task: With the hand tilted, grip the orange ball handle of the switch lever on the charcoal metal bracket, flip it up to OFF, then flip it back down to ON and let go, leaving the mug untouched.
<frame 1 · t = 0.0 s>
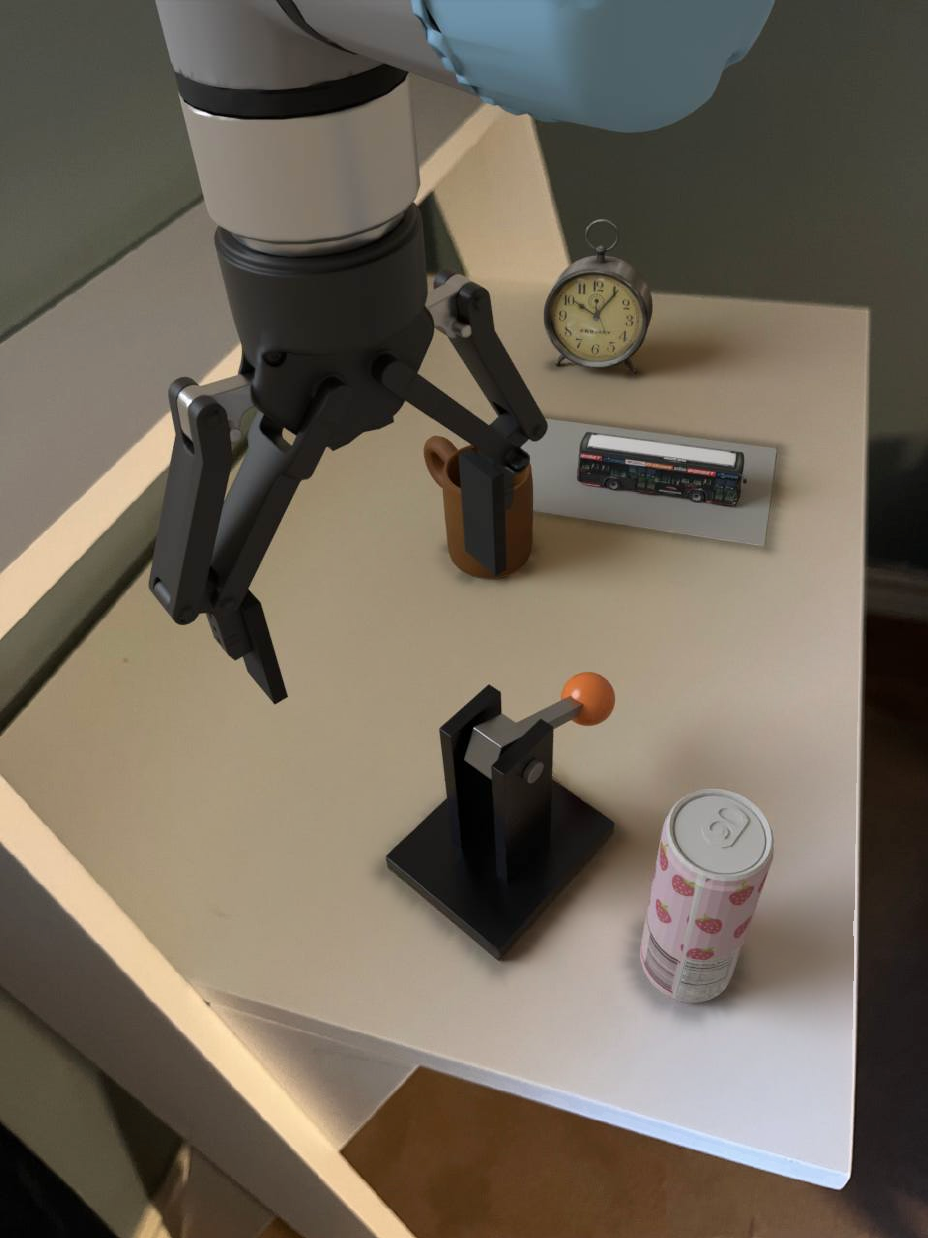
hand: (382, 619, 50), 22 cm above the table, tool pointing down, fingers open, 13 cm apart
switch bracket: (501, 850, 65), on the table
switch lever: (547, 720, 61), point 10 cm above the table, hinge at -25.0°
mug: (474, 542, 87), on the table
beverage can: (685, 960, 60), on the table
alarm clock: (596, 366, 106), on the table
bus: (636, 477, 93), on the table
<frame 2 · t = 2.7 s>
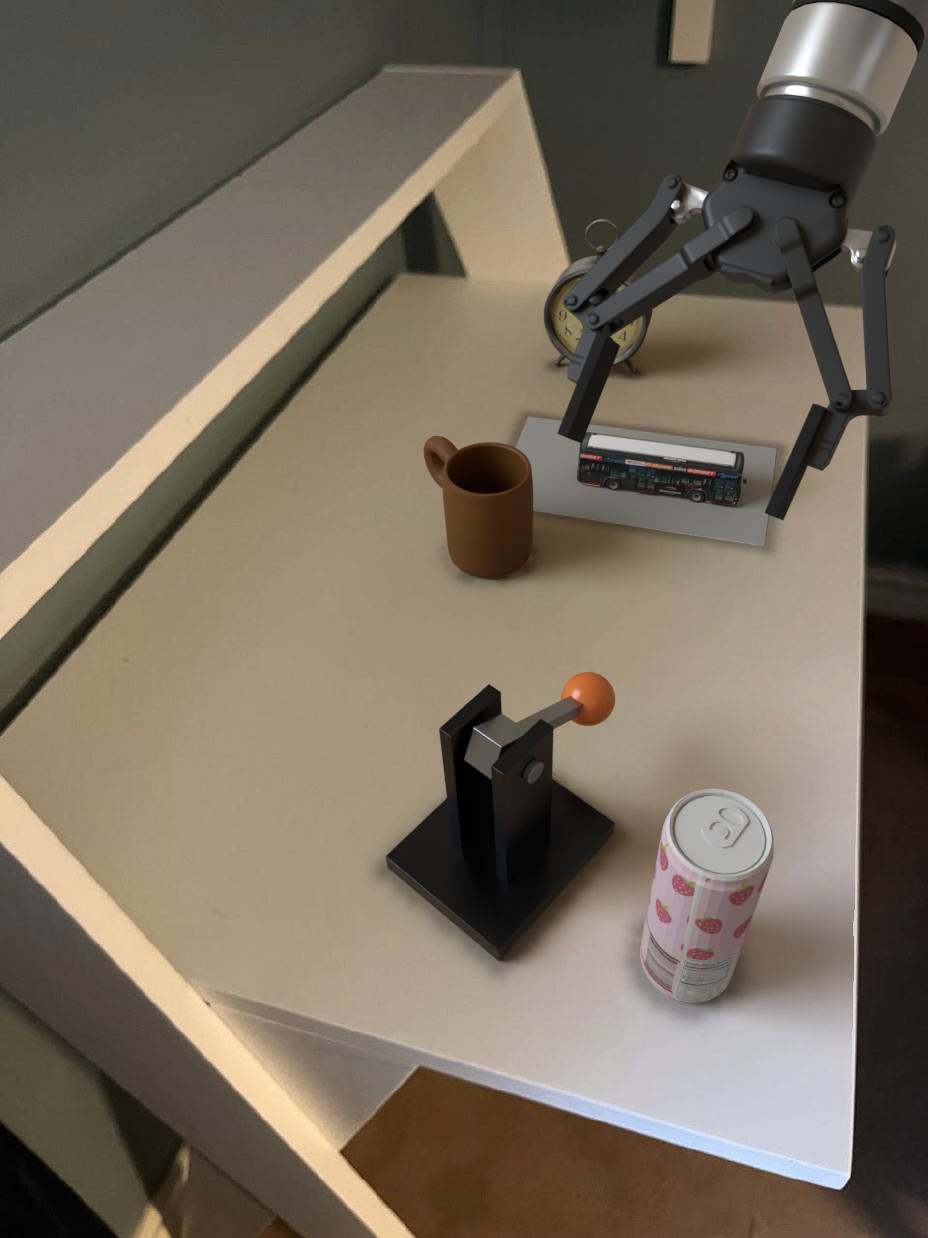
hand: (666, 476, 58), 21 cm above the table, tool tilted 40°, fingers open, 13 cm apart
nothing on the table moved.
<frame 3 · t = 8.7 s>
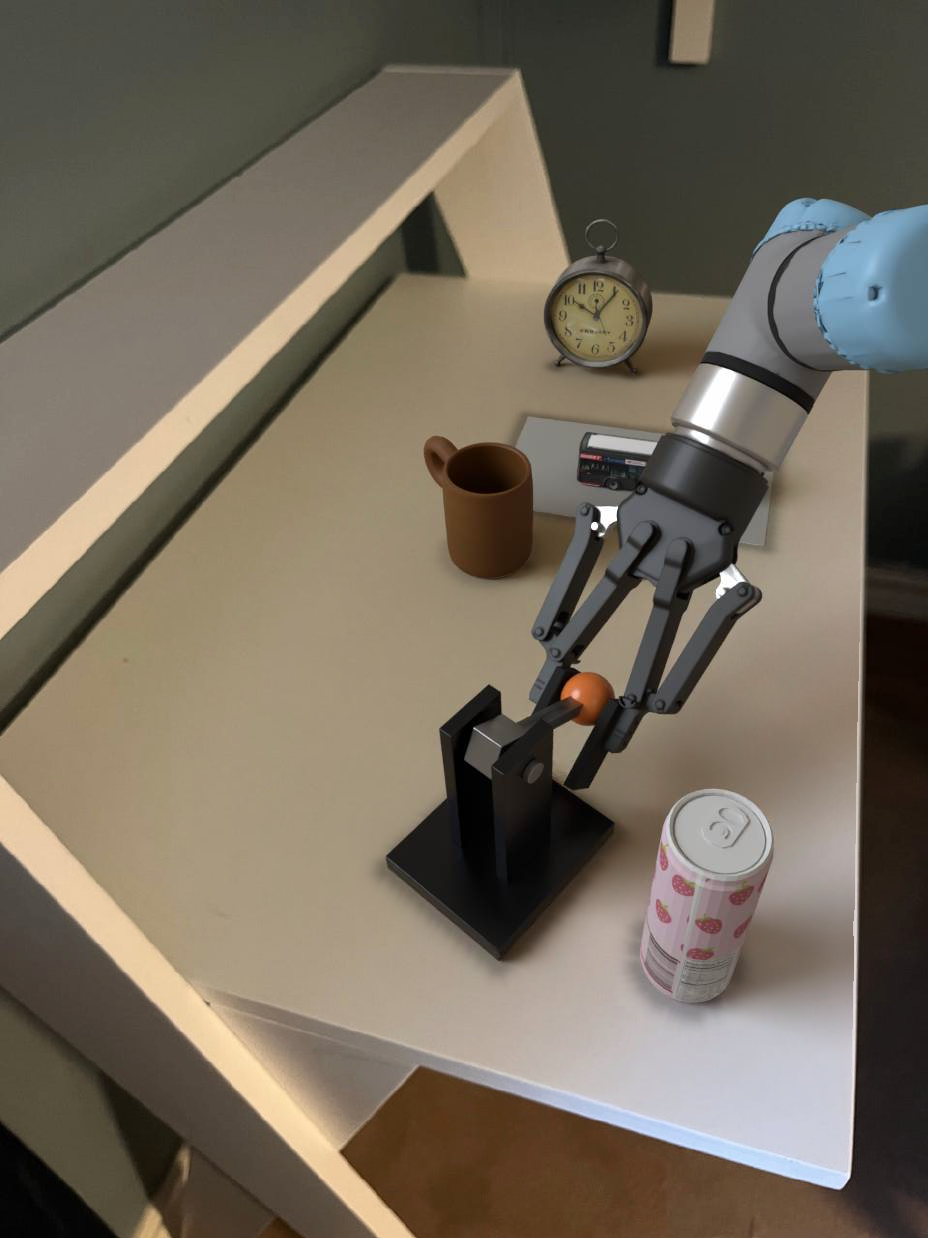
hand: (551, 768, 65), 4 cm above the table, tool tilted 45°, fingers closed on switch lever, 4 cm apart
switch lever: (547, 720, 61), point 10 cm above the table, hinge at -25.0°, touching gripper
everything else where it was.
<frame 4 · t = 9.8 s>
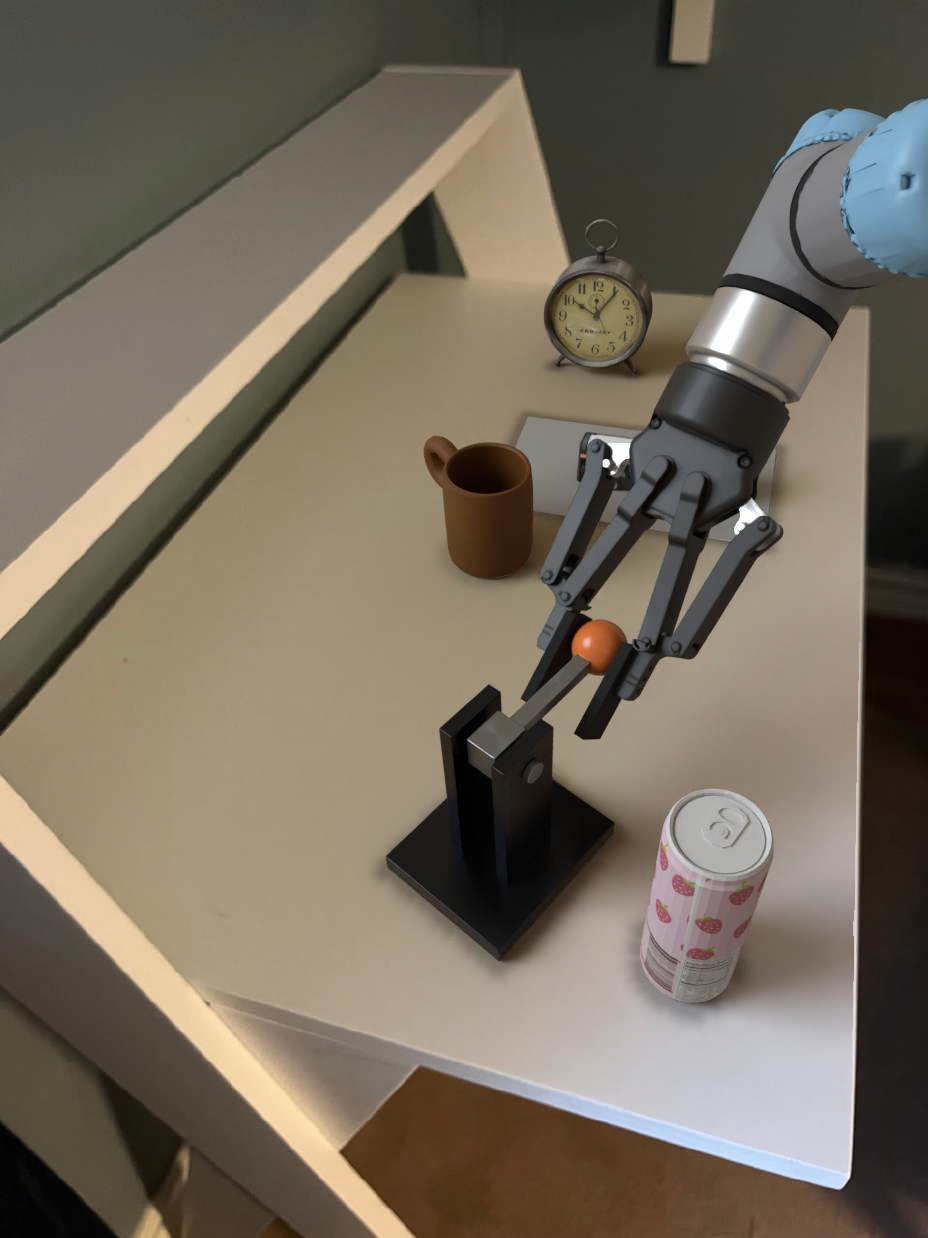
hand: (560, 718, 62), 9 cm above the table, tool tilted 45°, fingers closed on switch lever, 4 cm apart
switch lever: (552, 692, 59), point 12 cm above the table, hinge at 0.6°, touching gripper
everything else where it was.
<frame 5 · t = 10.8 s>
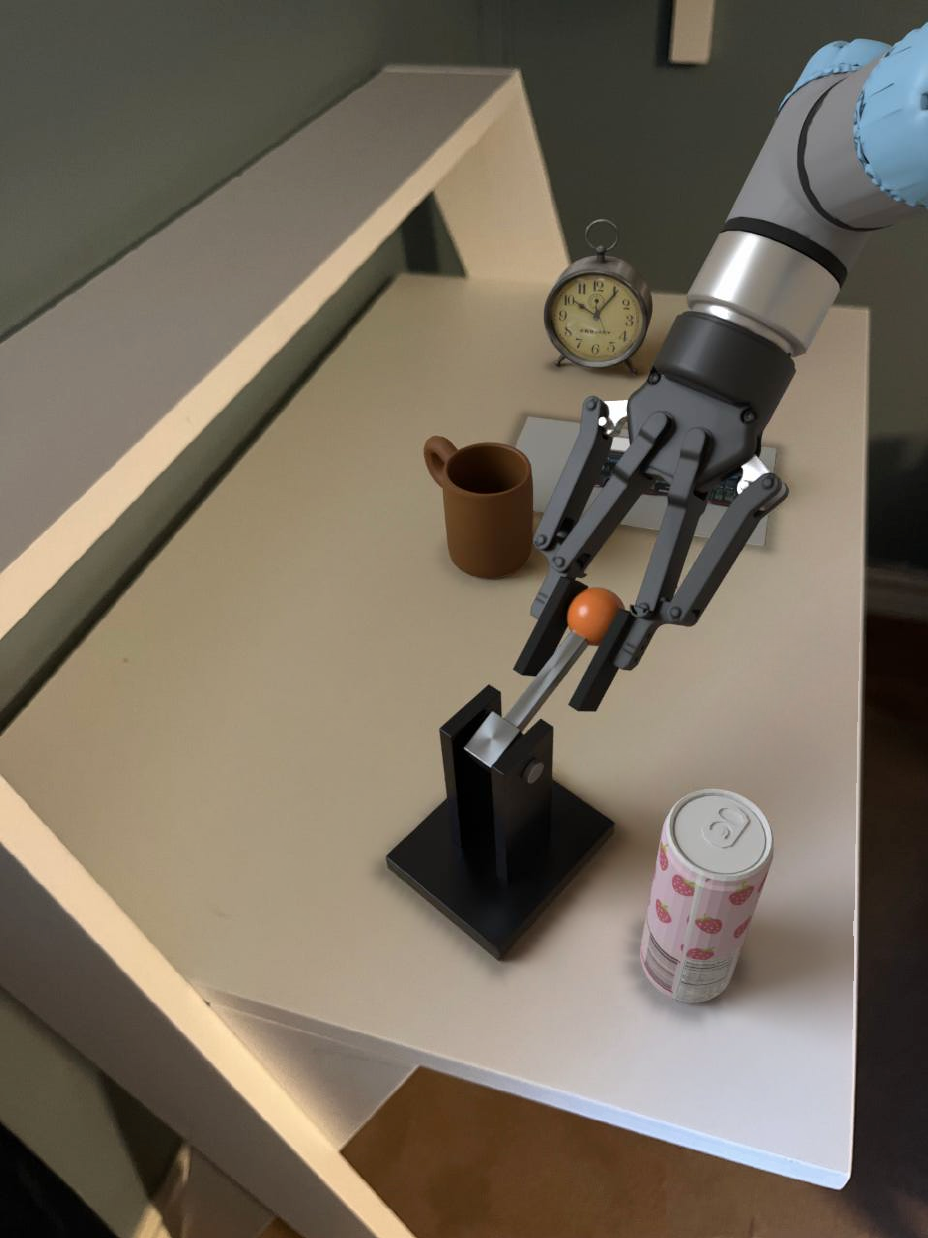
hand: (554, 689, 59), 12 cm above the table, tool tilted 45°, fingers closed on switch lever, 4 cm apart
switch lever: (549, 677, 58), point 14 cm above the table, hinge at 20.2°, touching gripper
everything else where it was.
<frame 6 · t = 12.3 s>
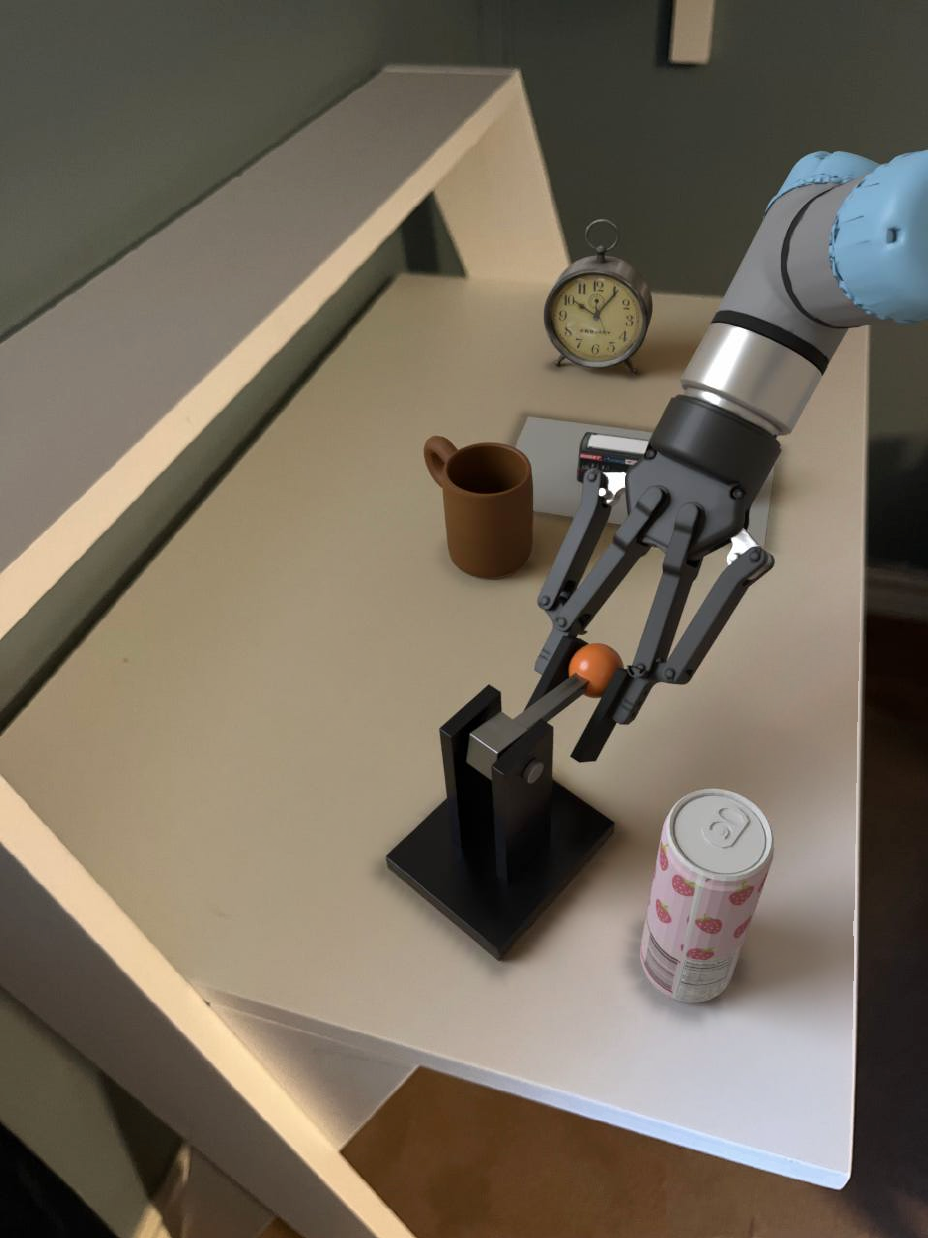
hand: (557, 740, 64), 6 cm above the table, tool tilted 45°, fingers closed on switch lever, 4 cm apart
switch lever: (551, 704, 60), point 11 cm above the table, hinge at -11.5°, touching gripper
everything else where it was.
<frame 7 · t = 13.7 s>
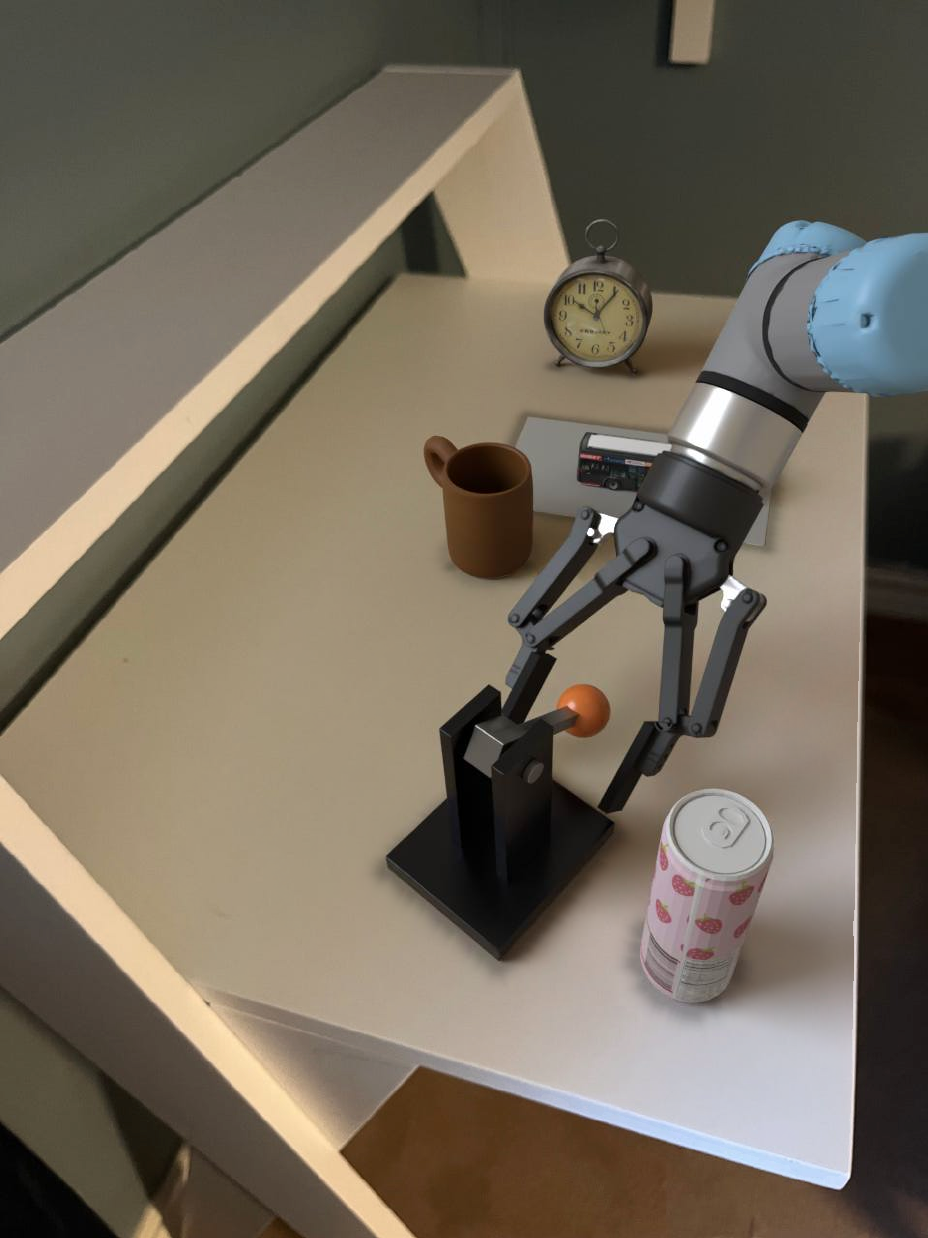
hand: (554, 770, 66), 3 cm above the table, tool tilted 45°, fingers open, 9 cm apart
switch lever: (544, 726, 61), point 9 cm above the table, hinge at -30.5°
everything else where it was.
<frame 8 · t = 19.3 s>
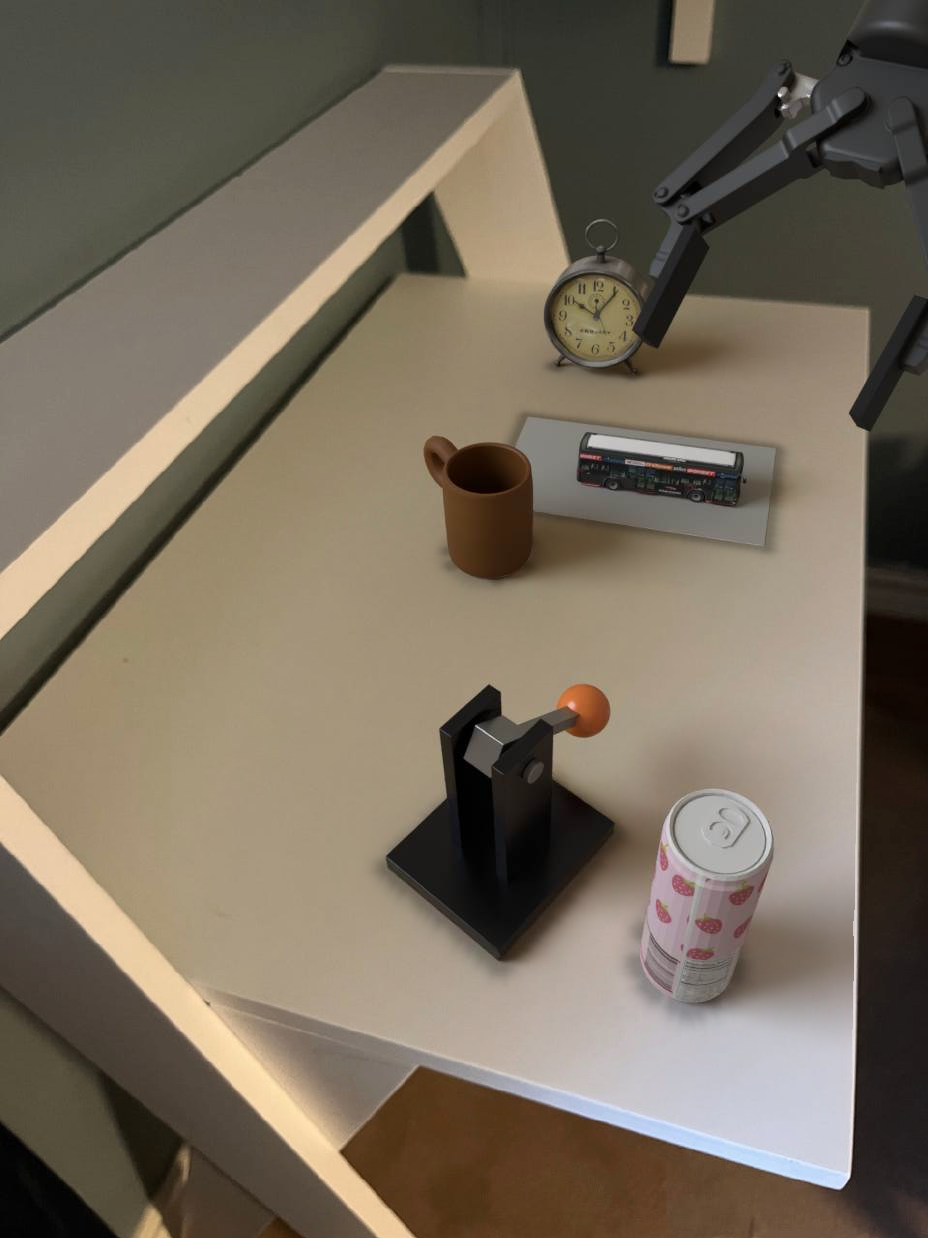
hand: (745, 379, 54), 28 cm above the table, tool tilted 45°, fingers open, 13 cm apart
nothing on the table moved.
at the end: switch lever reached +20° during the clip, -30° at the end; switch lever at -30° (first picture: -25°); mug moved 0.2 cm from its start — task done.
